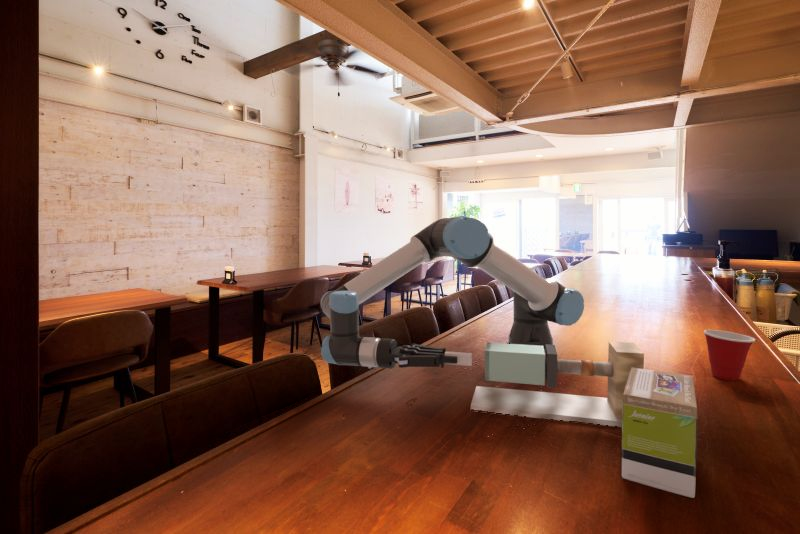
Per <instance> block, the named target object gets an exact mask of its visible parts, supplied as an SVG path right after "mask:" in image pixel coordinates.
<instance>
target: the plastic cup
mask: <svg viewBox="0 0 800 534" xmlns="http://www.w3.org/2000/svg"><path fill="white" fill-rule="evenodd" d="M703 333H704V336H705V339H706V344H707V352H708V358H709V360H708V361H709V364H710V370H711V372H710V373H711V374H712V376H713V377H714V378H717V379H721V380H725V381H735V380H736V381H740V378H741V376H742V372H743V369H744V366H745V363H746V360H747V357H748V353H749V350H750V348H751V347H752V345H753V343H754V342H755V341H756V338H754V337H753V336H750V335H746V334H741V333H737V332H732V331H726V330H720V329H719V330H717V329H704V330H703Z"/></svg>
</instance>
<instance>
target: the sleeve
mask: <svg viewBox="0 0 800 534" xmlns="http://www.w3.org/2000/svg"><path fill="white" fill-rule="evenodd" d="M484 381H490V382H502V383H511V384H512V383H514V384H521V385H522V384H525V385H535V386H545V385H546V384H545V382H546V377H545V349H544V347H543V346H539V345H522V344H509V343H504V342H503V343H501V342H487V343H486V345H485V349H484Z"/></svg>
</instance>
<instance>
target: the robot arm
mask: <svg viewBox="0 0 800 534" xmlns="http://www.w3.org/2000/svg"><path fill="white" fill-rule="evenodd" d="M487 227H488V226H486V224H485V223H484V222H483V221H482V220H481V219H478V218H477V217H473V216H469V215H468V216H467V215H460V216H456V217H455V216H454V217H444V218H440V219H437V220H435V221H433V222H432V223H430V224H429V225H427V226H426V227H424V228H423V229H422V230H420V231H419V232H417V233H416V234H414V235H413V236H411V237H410V241H409V242H407V243H406V244H405V245H403V246H401V247H400V248H398V249H397V250H395V251H394V252H392V253H390V254H389V255H388V256H386V257H385V258H383V259H382V260H380V261H379V262H376V264H374V265H372V266H370V267H369V268H367V269H366V270H365V271H363V272H361V273H360V274H359V275H356V276H355V277H354V278H352V279H351V280H349V281H347V282H345V283H344V284H343V285H342V286H340V287H338V288H336V289H335V290H330V291H327V292H325V294H323V295H322V297H321V299H320V308H321V310H322V312H323V314H324V315H325V316H326V317H327V318H328V319H329V324H330V325H329V326H330V335H326V336H325V337H324V339H323V340H322V343H321V348H320V352H321V353H320V354H321V357H322V360H323V361H324V362H325V363H328V364H332V365H333V364H334V365H338V366H354V367H355V366H356V367H367V368H368V369H372V368H380V369H386V370H387V369H388V370H389V369H390V370H392V369H394V368H395V366H396V364H398V367H399V369H400V368H439V367H440V368H445V365H453V366H454V365H455V366H466V367H472V366H473V353H472V352H459V351H448V350H447V349H446V347H437V346H430V345H429V346H428V345H422V344H417V343H414V342H413V343H411V344H410V345H408V344H403V345H402V346H399V345H398V342H397V341H396V339H395V338H380V337H370V336H369V337H366V336H360V328H359V327H360V319H359V317H360V316H359V306H360V305H361V304H363V303H364V302H365V301H367V300H369V299H370V298H371V297H373V296H375V295H376V294H378V293H379V292H381V291H382V290H383V289H385V288H386V287H388V286H390V285H391V284H392V283H394V282H395V281H397V280H398V279H400V278H402V277H403V276H405V275H406V274H407V273H409V272H411V271H412V270H414V269H416V268H417V267H418V266H420V265H421V264H422V263H425V264H429V263H430V262H432V261H433V260H435V259H437V258H440V257H452V258H454V259H455V260H457V261H458V262H460V263H462V264H463V265H464V266H466V267H467V268H468V269H469V268H470V269H472V268H476V267H477V268H478V269H480V270H481V271H483V273H485V274H487V275H489V276H490V277H491V278H493V279H495V280H496V281H498V282H499V283H501V284H502V285H504V286H505V287H507V288H508V289H510V290H511V291H512V293H513V322H512V325H511V329H510V331H509V334H508V344H509V343H510V344H522V345H539V346H543V347H544V350H545V344H549V345H554V338H553V337H552V333H551V330H550V326H549V322H551V323H553V324H557V325H559V326H567V327H569V326H572V325H574V324H576V323H578V321H579V320H580V319H581V317H582V316H583V313H584V311H585V304H584V303H585V299H584V296H583V294H582V293H581V292H580V291H578V290H576V289H574V288H567V287H566V286H564V285H562V284H561V283H559V281H557V280H555V279H553V278H550V277H547V278H544V277H543V276H541V275H540V274H539V273H537V272H535V271H534V270H532V268H530V267H529V266H527V265H526V264H525V263H523V262H522V261H520V260H519V259H517V258H516V257H515V256H513V255H512V254H510V253H509V252H507V251H506V250H504V249H503V248H501V247H500V246H499V245H497V244H496V243H494V236H493V235H492V234H491V233H490V232H489V230H488V228H487Z"/></svg>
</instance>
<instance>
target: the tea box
mask: <svg viewBox="0 0 800 534" xmlns="http://www.w3.org/2000/svg"><path fill="white" fill-rule="evenodd" d="M697 442H698V405H697V397H696V389H695V381H694V376H693V375H690V374H689V375H688V374H683V373H675V372H667V371H660V370H652V369H645V368H644V369H639V368H633V367H632V368H631V370H630V373H629V377H628V380H627V383H626V386H625V389H624V393H623V400H622V427H621V477H622V479H624V480H627V481H630V482H635V483H638V484H641V485H645V486H649V487H651V488H655V489H659V490H662V491H666V492H668V493H672V494H676V495H679V496H683V497H688V498H690V499H694V498H695V496H696V480H697V479H696V475H697V474H696V473H697V446H698V443H697Z"/></svg>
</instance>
